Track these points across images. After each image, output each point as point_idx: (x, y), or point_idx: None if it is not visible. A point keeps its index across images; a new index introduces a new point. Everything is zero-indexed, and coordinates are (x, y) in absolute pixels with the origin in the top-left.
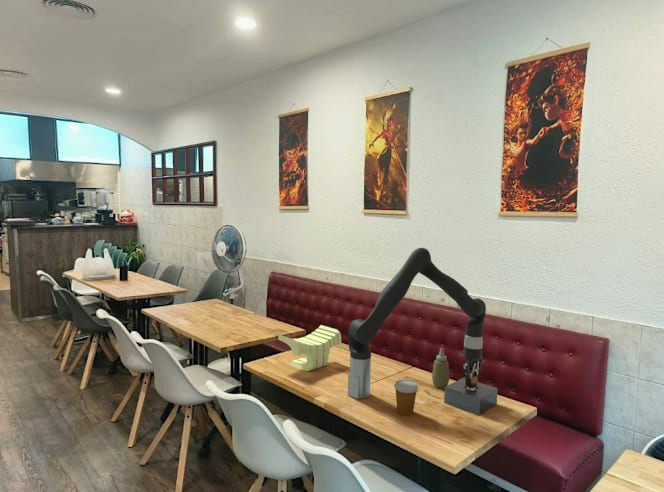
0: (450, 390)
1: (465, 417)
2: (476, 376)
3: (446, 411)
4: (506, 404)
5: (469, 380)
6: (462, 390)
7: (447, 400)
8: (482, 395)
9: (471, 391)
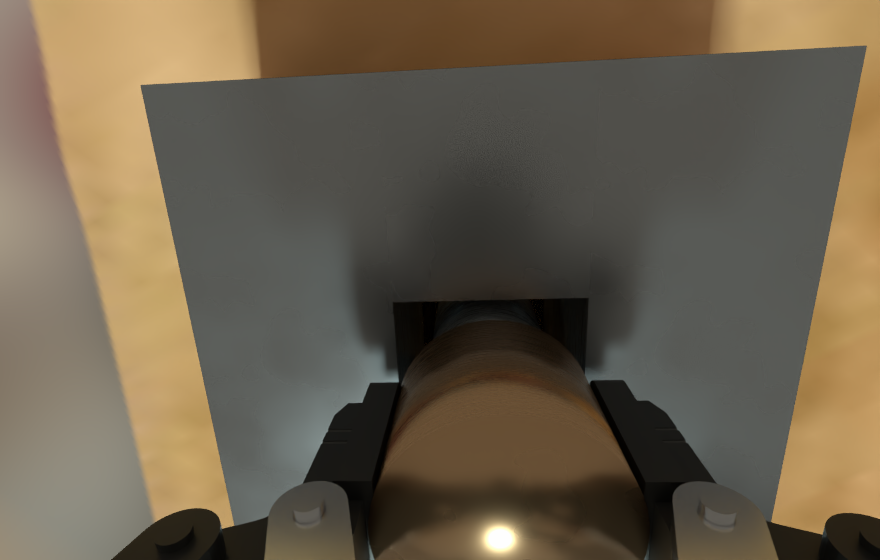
0: None
1: (860, 159)
2: (424, 461)
3: (842, 357)
4: (172, 18)
5: (678, 468)
6: (705, 415)
7: None
8: (680, 95)
9: (645, 309)
